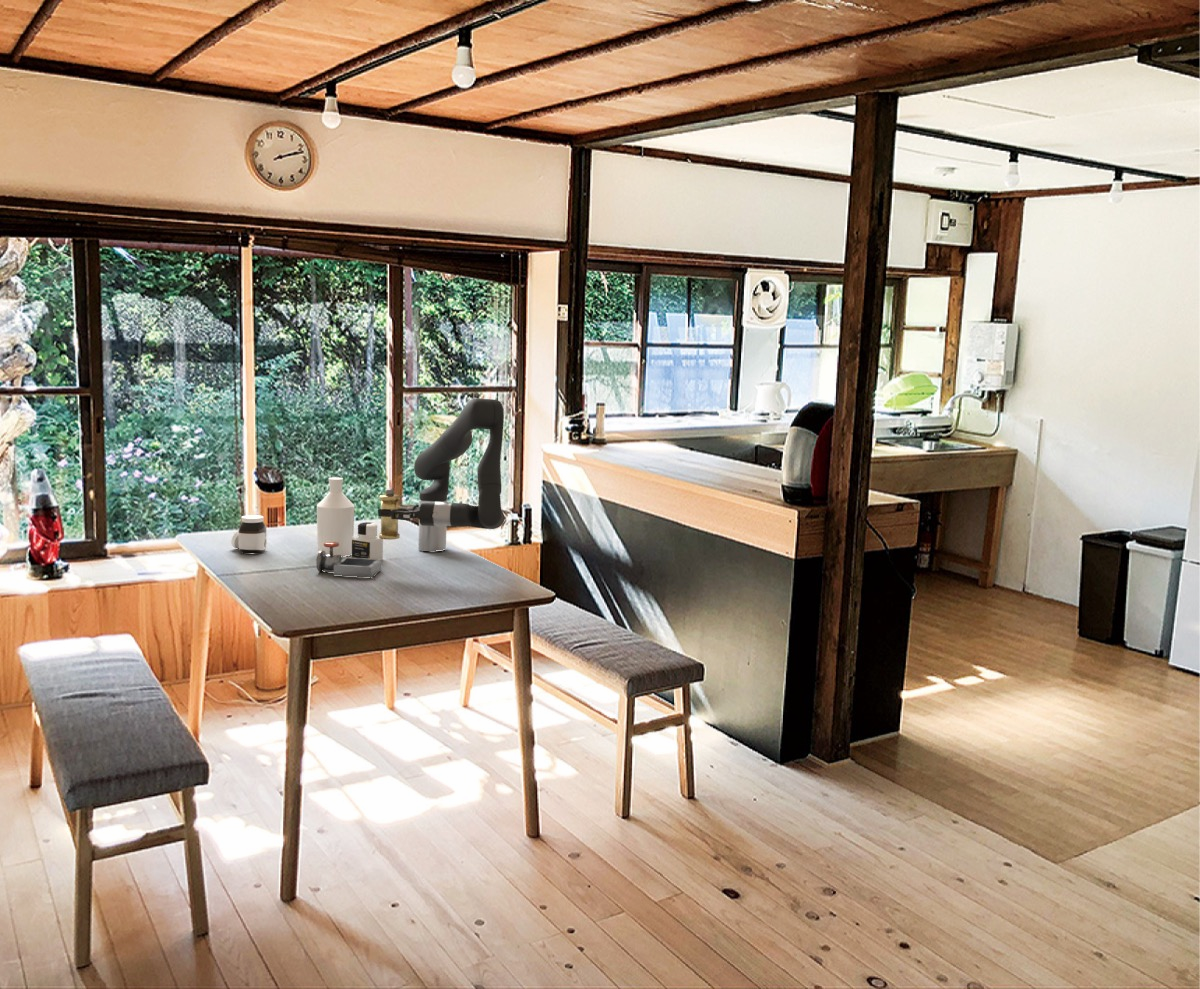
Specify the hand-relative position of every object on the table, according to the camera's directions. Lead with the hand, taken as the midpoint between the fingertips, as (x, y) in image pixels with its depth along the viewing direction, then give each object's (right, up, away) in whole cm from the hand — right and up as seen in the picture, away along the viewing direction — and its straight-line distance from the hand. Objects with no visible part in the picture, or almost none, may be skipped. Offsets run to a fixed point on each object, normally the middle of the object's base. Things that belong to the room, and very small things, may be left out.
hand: (380, 510), depth 319 cm
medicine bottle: (-9, -16, +22) cm, 29 cm away
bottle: (-21, -15, +29) cm, 38 cm away
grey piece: (-11, -19, +4) cm, 22 cm away
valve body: (+2, -8, +1) cm, 8 cm away
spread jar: (-49, -14, +27) cm, 58 cm away
